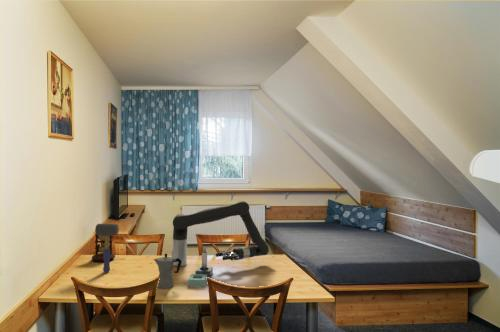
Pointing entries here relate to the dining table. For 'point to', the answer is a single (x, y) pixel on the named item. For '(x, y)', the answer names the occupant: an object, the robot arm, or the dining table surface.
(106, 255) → the rubber mallet
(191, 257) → the dining table surface
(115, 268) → the dining table surface
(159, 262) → the coffeepot
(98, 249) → the dark brown lantern
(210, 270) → the socket block
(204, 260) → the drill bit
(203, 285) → the rack block
